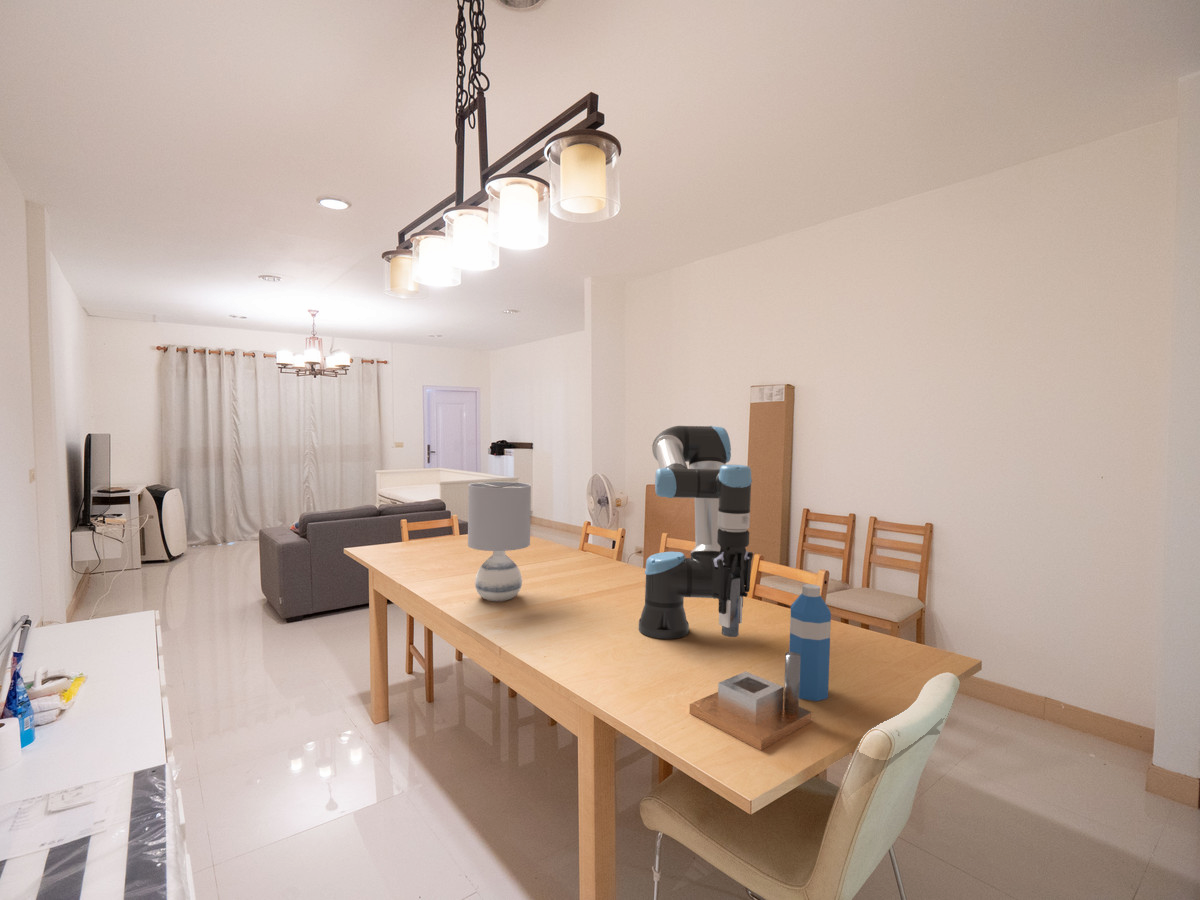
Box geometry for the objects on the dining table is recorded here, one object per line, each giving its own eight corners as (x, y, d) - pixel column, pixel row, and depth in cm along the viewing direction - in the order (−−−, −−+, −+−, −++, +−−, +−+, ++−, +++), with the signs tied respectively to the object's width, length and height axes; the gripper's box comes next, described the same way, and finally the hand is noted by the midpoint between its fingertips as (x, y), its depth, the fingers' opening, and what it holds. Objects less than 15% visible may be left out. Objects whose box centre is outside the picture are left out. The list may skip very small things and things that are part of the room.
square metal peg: (718, 633, 139) (720, 576, 139) (728, 629, 142) (730, 574, 141) (731, 638, 136) (733, 580, 136) (741, 634, 139) (743, 577, 138)
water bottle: (780, 683, 138) (783, 581, 137) (817, 682, 139) (821, 580, 138) (796, 701, 129) (800, 592, 128) (836, 700, 130) (840, 591, 129)
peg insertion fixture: (689, 713, 123) (691, 648, 122) (741, 690, 134) (742, 631, 133) (760, 750, 109) (763, 678, 108) (811, 721, 120) (813, 655, 120)
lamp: (524, 608, 192) (526, 488, 190) (460, 606, 192) (461, 487, 190) (532, 590, 213) (534, 482, 212) (475, 588, 213) (476, 481, 212)
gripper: (723, 535, 129) (720, 636, 131) (767, 527, 140) (764, 620, 142) (698, 530, 135) (695, 626, 137) (742, 522, 146) (739, 612, 147)
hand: (730, 623), depth 139 cm, fingers closed on square metal peg, 4 cm apart
